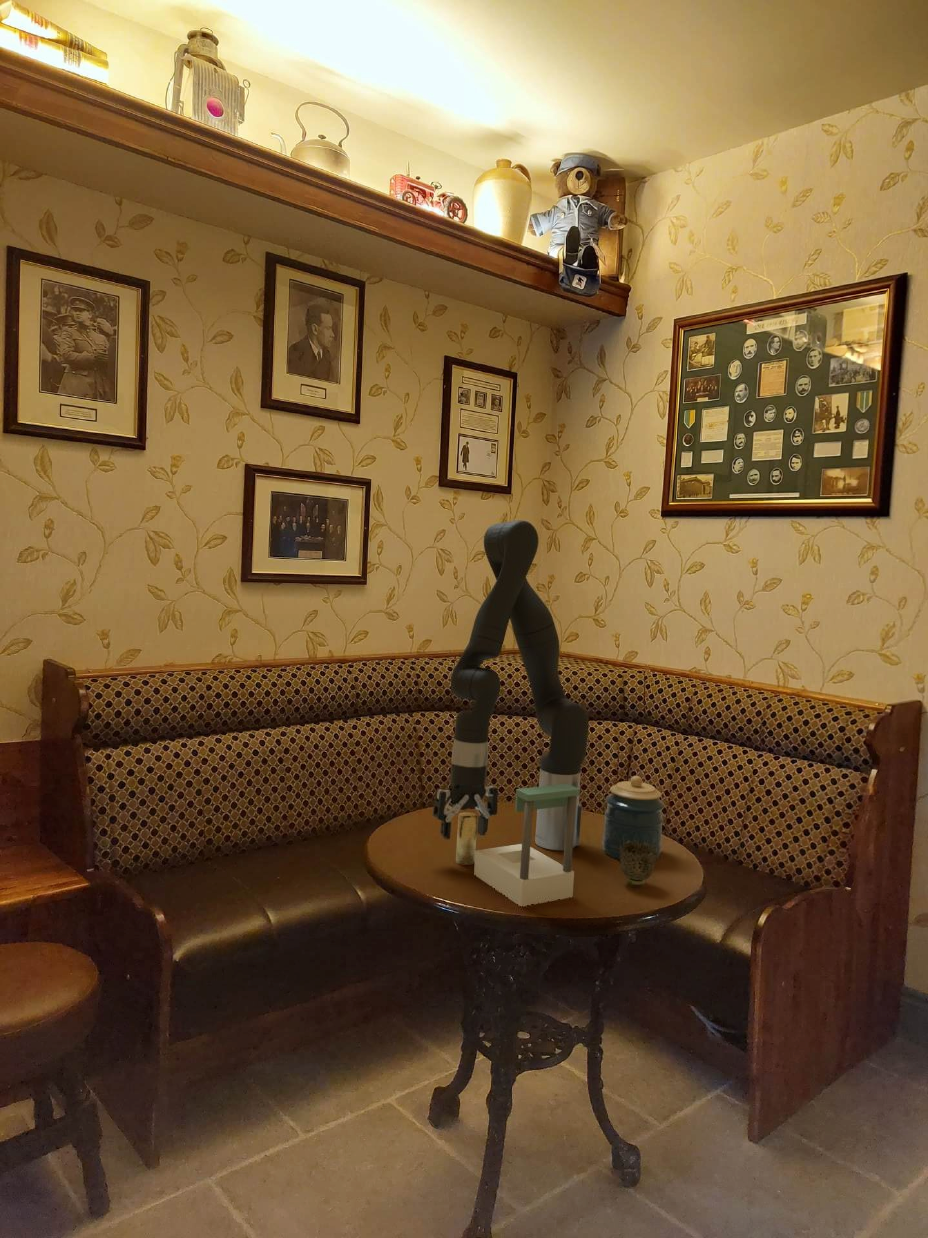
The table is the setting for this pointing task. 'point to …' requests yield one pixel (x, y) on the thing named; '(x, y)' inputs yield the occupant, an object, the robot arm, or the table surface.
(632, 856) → the cup
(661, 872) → the table surface
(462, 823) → the brass peg
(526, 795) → the socket stand
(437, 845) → the table surface
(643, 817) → the canister
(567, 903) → the table surface
